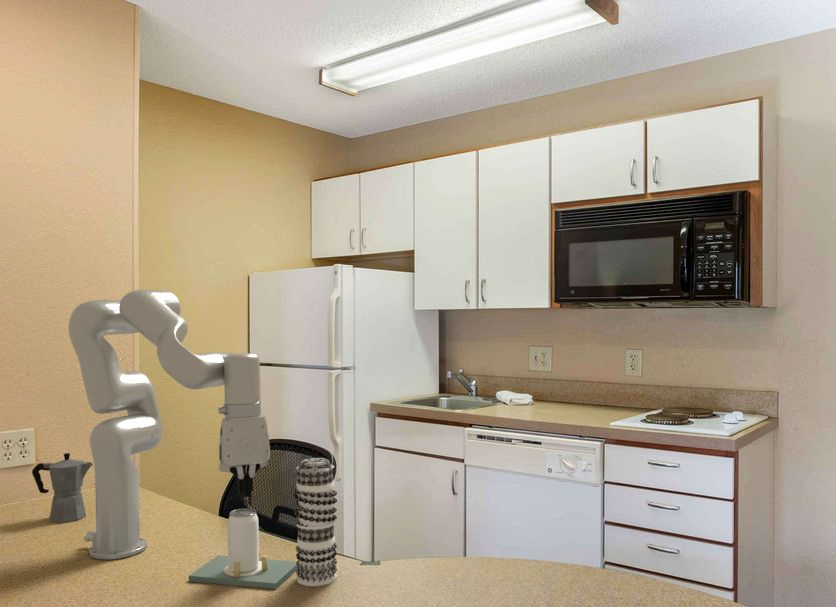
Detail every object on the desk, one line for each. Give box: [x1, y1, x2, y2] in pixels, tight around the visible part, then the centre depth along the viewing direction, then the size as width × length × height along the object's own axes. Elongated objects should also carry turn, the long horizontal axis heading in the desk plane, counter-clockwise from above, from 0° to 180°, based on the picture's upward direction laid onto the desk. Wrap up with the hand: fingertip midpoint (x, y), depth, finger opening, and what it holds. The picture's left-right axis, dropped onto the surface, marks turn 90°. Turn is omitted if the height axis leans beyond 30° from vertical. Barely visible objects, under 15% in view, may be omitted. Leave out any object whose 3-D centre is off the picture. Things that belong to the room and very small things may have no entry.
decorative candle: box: [292, 457, 338, 587], centre depth 147 cm, size 9×9×25 cm
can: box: [227, 508, 260, 573], centre depth 150 cm, size 6×6×12 cm
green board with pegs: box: [188, 546, 297, 590], centre depth 150 cm, size 20×12×4 cm, turn 76°
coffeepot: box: [31, 452, 94, 524], centre depth 192 cm, size 15×9×18 cm, turn 103°
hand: (245, 495), depth 150 cm, fingers closed
